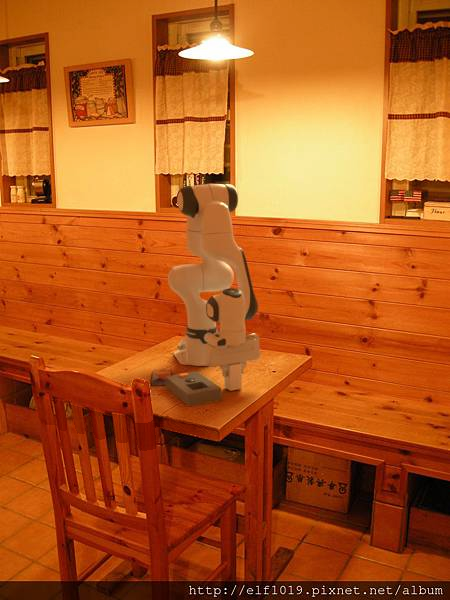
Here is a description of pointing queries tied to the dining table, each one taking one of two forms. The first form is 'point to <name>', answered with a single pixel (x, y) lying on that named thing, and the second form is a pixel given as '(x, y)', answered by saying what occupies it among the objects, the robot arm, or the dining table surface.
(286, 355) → the dining table surface
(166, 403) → the dining table surface
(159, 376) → the smartphone
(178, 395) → the grey rectangular box
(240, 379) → the block with round knob
